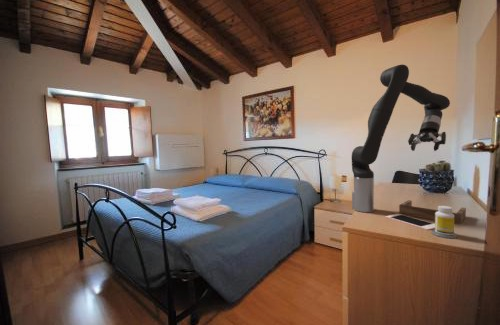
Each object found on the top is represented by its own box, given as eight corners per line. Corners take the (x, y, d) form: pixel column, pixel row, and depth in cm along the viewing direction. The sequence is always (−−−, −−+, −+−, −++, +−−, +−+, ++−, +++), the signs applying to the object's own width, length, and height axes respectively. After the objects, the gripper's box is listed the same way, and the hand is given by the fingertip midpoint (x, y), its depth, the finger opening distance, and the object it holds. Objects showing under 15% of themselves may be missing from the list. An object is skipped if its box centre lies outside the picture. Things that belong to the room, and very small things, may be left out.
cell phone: (427, 231, 87) (427, 229, 87) (385, 218, 104) (385, 216, 104) (441, 227, 90) (441, 225, 90) (398, 215, 107) (398, 213, 107)
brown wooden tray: (408, 207, 118) (408, 200, 117) (465, 216, 101) (465, 208, 100) (399, 213, 109) (399, 205, 109) (460, 224, 92) (460, 214, 92)
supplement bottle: (457, 236, 80) (458, 209, 79) (440, 235, 81) (441, 208, 80) (447, 230, 85) (448, 205, 84) (431, 229, 86) (432, 204, 85)
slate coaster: (428, 234, 84) (428, 232, 84) (435, 229, 88) (435, 228, 87) (453, 240, 78) (453, 238, 78) (459, 235, 82) (459, 233, 82)
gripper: (412, 122, 117) (404, 144, 110) (447, 119, 106) (441, 143, 99) (414, 132, 121) (407, 154, 114) (449, 130, 110) (444, 155, 103)
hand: (423, 149), depth 107 cm, fingers open, 8 cm apart
